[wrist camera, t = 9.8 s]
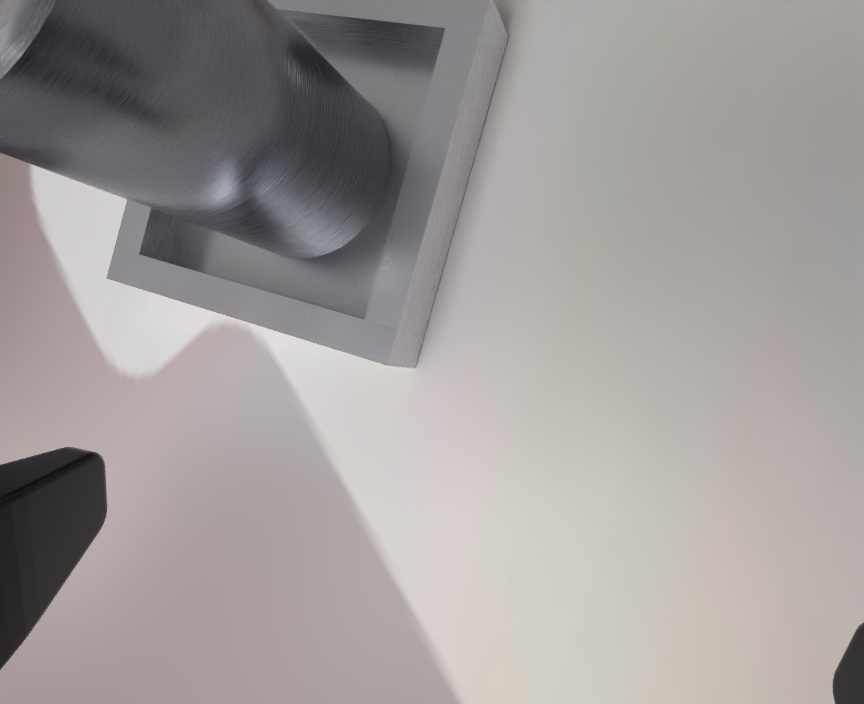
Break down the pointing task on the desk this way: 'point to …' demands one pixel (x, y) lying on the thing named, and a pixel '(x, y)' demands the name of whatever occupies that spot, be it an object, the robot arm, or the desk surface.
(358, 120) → the dark grey tall cylinder
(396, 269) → the square pan with handle
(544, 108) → the desk surface
